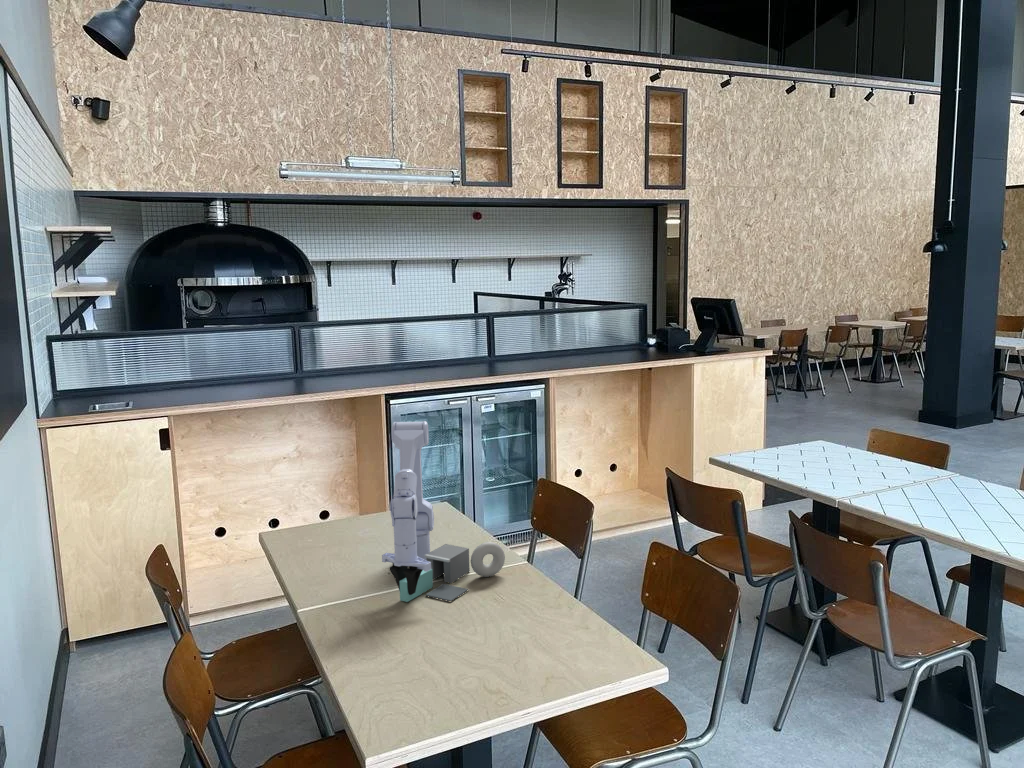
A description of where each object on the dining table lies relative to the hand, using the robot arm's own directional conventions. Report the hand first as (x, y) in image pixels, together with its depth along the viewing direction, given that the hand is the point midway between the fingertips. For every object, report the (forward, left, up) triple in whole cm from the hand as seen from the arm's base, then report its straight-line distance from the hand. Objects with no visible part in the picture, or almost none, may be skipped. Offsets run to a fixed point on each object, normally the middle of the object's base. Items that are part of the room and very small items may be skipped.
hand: (407, 592), depth 198 cm
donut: (+10, +23, -2) cm, 25 cm away
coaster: (+7, +8, -2) cm, 11 cm away
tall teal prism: (0, +4, -2) cm, 4 cm away
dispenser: (0, +18, -2) cm, 18 cm away
